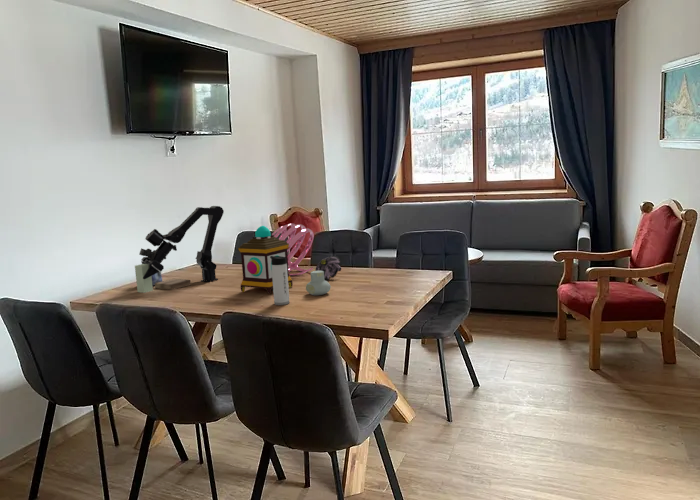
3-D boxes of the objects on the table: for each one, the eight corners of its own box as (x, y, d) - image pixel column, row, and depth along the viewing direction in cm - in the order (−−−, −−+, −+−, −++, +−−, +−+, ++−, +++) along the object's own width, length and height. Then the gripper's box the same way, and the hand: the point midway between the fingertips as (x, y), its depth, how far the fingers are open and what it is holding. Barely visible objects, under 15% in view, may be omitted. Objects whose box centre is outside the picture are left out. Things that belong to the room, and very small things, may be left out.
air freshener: (304, 293, 247) (302, 271, 246) (319, 290, 252) (318, 268, 251) (317, 297, 239) (316, 274, 237) (333, 294, 243) (332, 271, 242)
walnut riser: (190, 284, 282) (190, 279, 282) (172, 289, 272) (171, 284, 271) (174, 283, 288) (173, 278, 288) (155, 288, 278) (155, 283, 278)
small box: (152, 286, 280) (148, 266, 279) (140, 287, 282) (137, 267, 280) (163, 282, 290) (160, 262, 289) (152, 283, 292) (148, 263, 290)
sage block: (152, 290, 272) (150, 264, 271) (144, 292, 268) (141, 266, 266) (146, 289, 275) (143, 263, 273) (137, 292, 271) (134, 265, 269)
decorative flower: (305, 259, 281) (332, 248, 286) (311, 278, 287) (336, 267, 291) (317, 271, 269) (344, 259, 274) (322, 290, 275) (349, 278, 279)
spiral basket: (336, 234, 294) (296, 206, 301) (306, 255, 273) (264, 225, 279) (320, 272, 311) (282, 245, 317) (290, 295, 289) (251, 265, 296)
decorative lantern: (269, 296, 247) (264, 228, 242) (236, 292, 257) (231, 228, 253) (297, 286, 263) (292, 223, 259) (264, 284, 274) (260, 223, 270)
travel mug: (273, 302, 234) (270, 255, 231) (289, 301, 234) (286, 254, 231) (273, 305, 228) (269, 257, 225) (289, 304, 228) (285, 256, 225)
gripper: (143, 240, 278) (122, 265, 273) (154, 243, 263) (132, 269, 258) (161, 254, 284) (140, 278, 279) (172, 258, 268) (151, 284, 264)
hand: (141, 277), depth 270 cm, fingers open, 9 cm apart
